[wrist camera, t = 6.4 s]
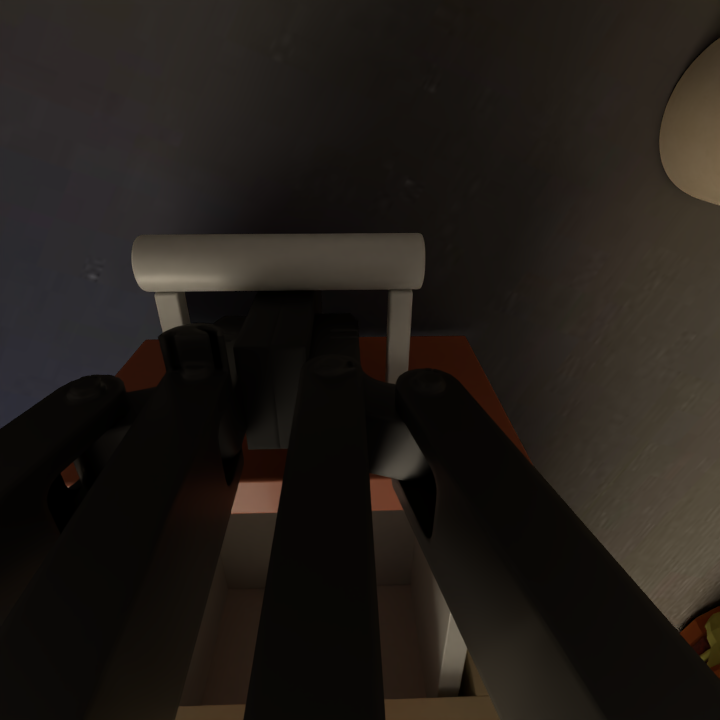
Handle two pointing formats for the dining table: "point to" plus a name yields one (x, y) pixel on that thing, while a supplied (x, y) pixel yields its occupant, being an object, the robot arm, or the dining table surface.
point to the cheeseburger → (706, 638)
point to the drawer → (266, 466)
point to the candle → (694, 129)
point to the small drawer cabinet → (392, 704)
